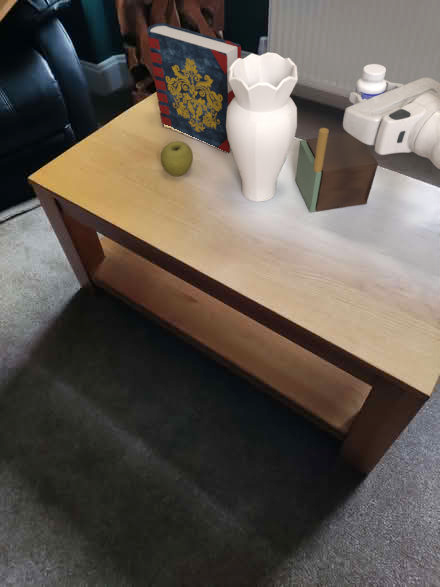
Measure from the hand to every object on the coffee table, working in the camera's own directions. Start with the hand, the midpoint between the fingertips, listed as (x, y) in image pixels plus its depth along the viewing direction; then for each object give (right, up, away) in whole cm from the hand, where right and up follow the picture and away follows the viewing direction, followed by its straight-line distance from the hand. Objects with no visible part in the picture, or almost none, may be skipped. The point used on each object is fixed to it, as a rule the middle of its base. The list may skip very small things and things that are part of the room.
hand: (366, 89), depth 82 cm
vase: (-18, -14, +22) cm, 32 cm away
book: (-34, +6, +38) cm, 51 cm away
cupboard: (-1, -14, +20) cm, 25 cm away
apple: (-38, -8, +28) cm, 48 cm away
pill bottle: (+1, -4, +4) cm, 6 cm away
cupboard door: (-8, -16, +20) cm, 26 cm away
